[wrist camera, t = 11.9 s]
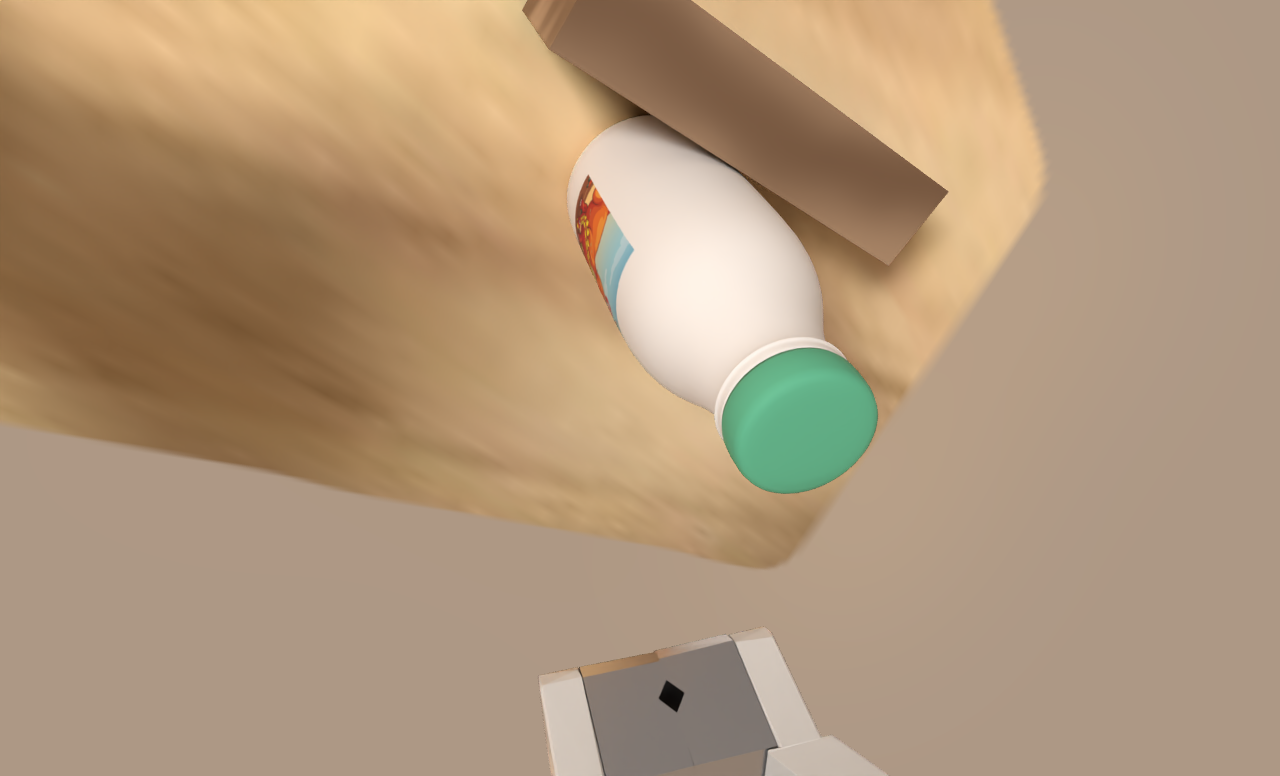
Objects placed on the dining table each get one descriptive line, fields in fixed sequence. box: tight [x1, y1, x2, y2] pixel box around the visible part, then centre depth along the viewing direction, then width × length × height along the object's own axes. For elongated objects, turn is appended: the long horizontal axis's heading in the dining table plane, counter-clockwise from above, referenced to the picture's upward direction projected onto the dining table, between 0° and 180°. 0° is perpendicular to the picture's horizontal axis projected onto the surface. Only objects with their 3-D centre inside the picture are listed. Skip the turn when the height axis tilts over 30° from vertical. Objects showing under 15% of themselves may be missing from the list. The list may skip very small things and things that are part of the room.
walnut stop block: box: [523, 0, 948, 266], centre depth 36 cm, size 4×18×7 cm, turn 56°
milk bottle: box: [567, 115, 878, 494], centre depth 33 cm, size 8×8×20 cm
